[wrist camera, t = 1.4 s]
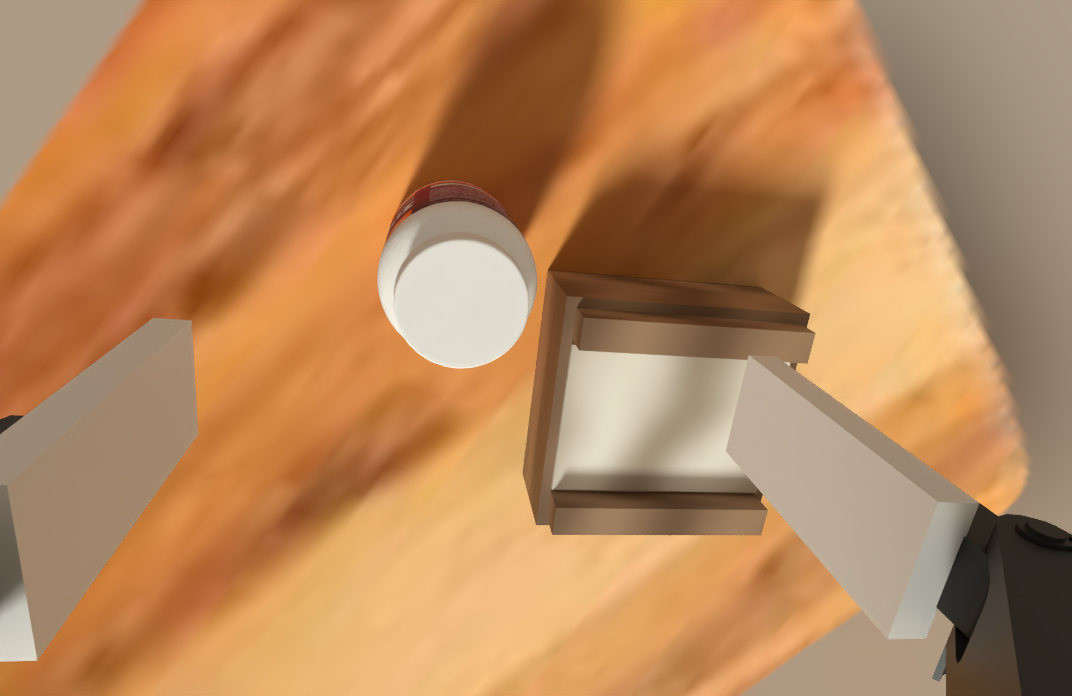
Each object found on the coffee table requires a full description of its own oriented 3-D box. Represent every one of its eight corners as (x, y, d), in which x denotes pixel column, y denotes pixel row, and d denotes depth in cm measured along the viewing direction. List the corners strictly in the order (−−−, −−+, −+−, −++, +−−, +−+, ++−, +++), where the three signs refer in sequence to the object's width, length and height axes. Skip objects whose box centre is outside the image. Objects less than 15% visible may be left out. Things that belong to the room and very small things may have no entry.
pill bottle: (389, 173, 31) (370, 205, 21) (518, 183, 32) (560, 218, 22) (387, 300, 33) (369, 386, 23) (508, 305, 34) (543, 389, 24)
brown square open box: (522, 473, 38) (541, 543, 32) (547, 270, 34) (574, 305, 28) (716, 477, 40) (767, 543, 34) (760, 287, 36) (827, 323, 30)
